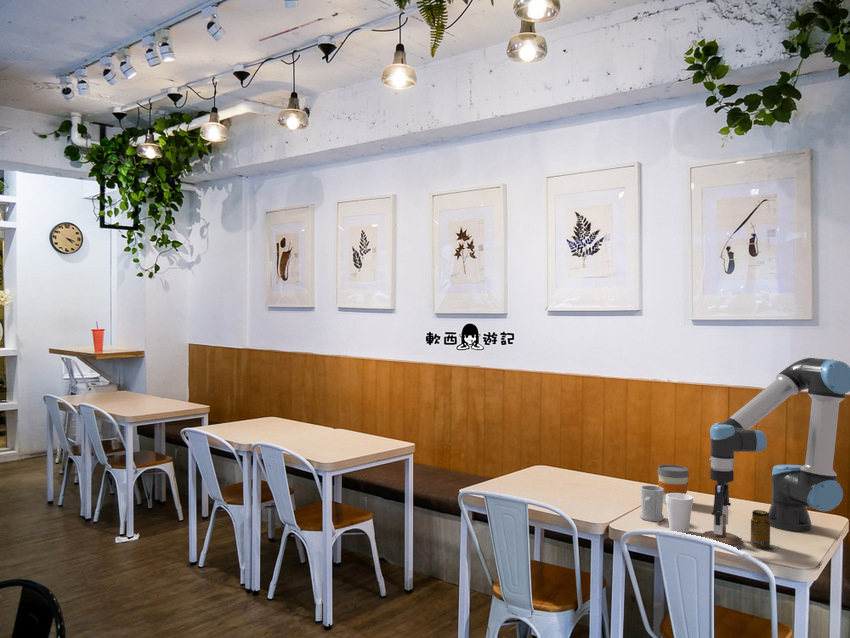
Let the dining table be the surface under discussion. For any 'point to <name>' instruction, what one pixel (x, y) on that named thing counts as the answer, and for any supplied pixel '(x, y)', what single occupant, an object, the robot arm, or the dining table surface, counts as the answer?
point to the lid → (723, 535)
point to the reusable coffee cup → (673, 479)
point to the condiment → (761, 531)
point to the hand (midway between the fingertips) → (720, 528)
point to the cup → (651, 503)
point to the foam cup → (679, 511)
